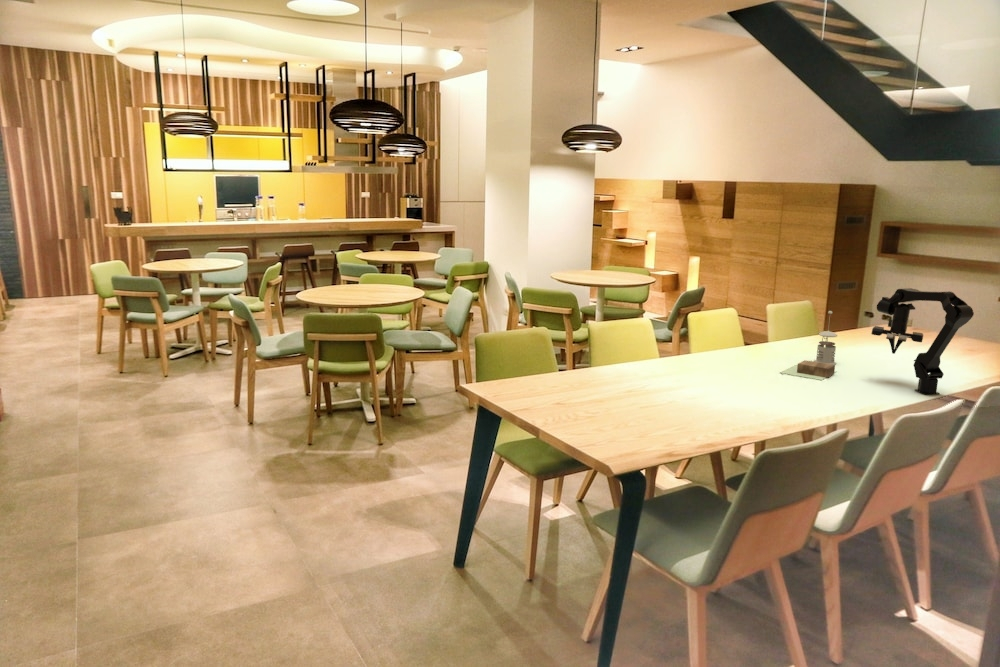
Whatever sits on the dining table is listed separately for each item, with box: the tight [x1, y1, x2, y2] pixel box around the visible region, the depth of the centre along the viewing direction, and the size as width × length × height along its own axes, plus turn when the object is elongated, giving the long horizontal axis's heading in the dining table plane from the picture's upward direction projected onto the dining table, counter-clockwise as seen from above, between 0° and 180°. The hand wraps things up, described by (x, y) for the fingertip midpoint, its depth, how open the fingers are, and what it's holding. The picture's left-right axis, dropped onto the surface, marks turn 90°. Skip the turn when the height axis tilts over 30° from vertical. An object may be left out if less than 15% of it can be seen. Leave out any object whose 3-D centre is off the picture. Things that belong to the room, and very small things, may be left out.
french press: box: [813, 310, 838, 366], centre depth 328 cm, size 10×12×25 cm
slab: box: [797, 360, 836, 379], centre depth 309 cm, size 4×9×13 cm
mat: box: [779, 364, 837, 381], centre depth 311 cm, size 18×20×1 cm
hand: (893, 353), depth 294 cm, fingers closed
